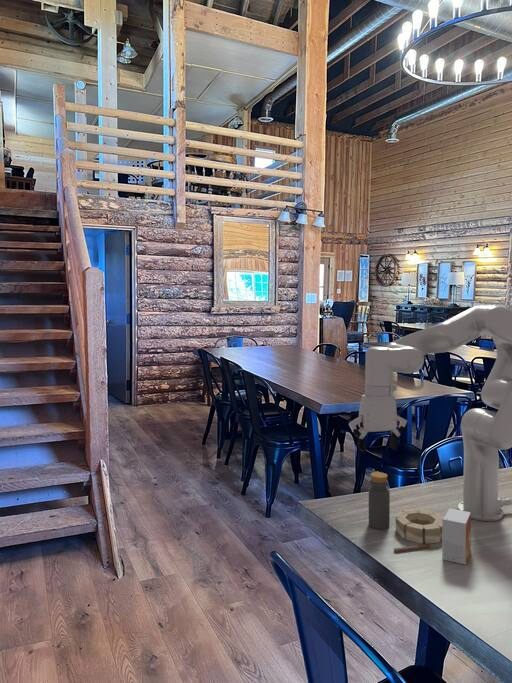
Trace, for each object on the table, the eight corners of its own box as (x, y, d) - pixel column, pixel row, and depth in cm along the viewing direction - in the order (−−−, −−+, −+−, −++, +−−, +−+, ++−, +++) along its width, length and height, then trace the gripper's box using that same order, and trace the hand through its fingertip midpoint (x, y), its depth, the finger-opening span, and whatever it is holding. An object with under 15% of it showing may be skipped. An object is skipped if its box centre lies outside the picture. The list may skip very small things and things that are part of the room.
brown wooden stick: (428, 546, 132) (428, 543, 132) (430, 547, 131) (430, 545, 131) (393, 551, 130) (393, 548, 130) (395, 552, 129) (395, 550, 129)
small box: (465, 565, 122) (466, 524, 121) (441, 559, 125) (442, 519, 124) (471, 551, 129) (471, 511, 128) (448, 546, 132) (448, 507, 131)
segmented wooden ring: (428, 520, 147) (428, 507, 147) (453, 540, 135) (454, 525, 135) (389, 525, 145) (389, 511, 144) (411, 545, 132) (411, 531, 132)
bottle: (390, 530, 141) (390, 478, 140) (368, 529, 142) (368, 477, 141) (388, 521, 147) (389, 471, 146) (368, 520, 148) (368, 470, 147)
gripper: (400, 387, 147) (399, 444, 148) (344, 389, 143) (344, 448, 145) (413, 391, 140) (412, 452, 141) (355, 394, 136) (354, 456, 137)
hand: (377, 450), depth 143 cm, fingers open, 9 cm apart
